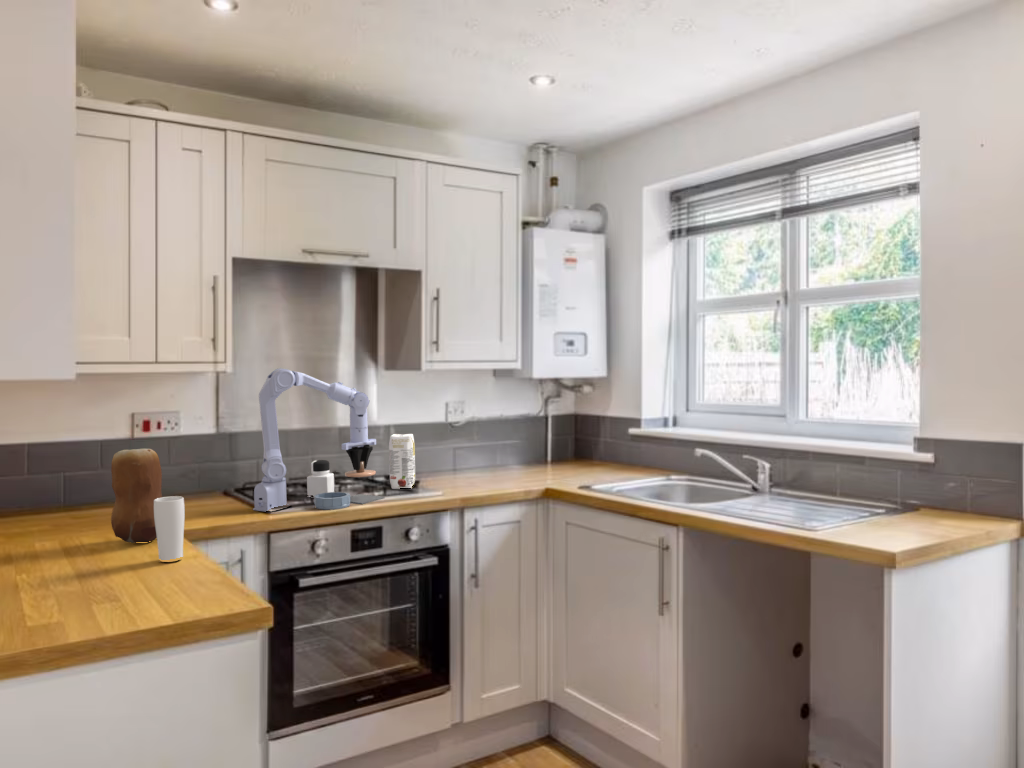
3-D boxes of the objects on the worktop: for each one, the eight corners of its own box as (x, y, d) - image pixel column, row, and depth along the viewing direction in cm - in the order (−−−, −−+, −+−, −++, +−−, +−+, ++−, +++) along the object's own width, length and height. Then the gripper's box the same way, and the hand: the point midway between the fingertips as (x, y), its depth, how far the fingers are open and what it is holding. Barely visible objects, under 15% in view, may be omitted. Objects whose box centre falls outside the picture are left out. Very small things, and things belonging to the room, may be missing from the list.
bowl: (332, 511, 240) (332, 499, 240) (307, 507, 245) (307, 496, 245) (357, 504, 249) (356, 493, 249) (332, 501, 255) (331, 490, 254)
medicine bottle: (334, 493, 268) (333, 459, 268) (327, 497, 261) (326, 462, 260) (314, 493, 269) (313, 459, 268) (307, 497, 262) (306, 462, 261)
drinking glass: (191, 560, 187) (189, 498, 186) (163, 566, 182) (160, 502, 181) (178, 555, 192) (176, 494, 191) (150, 561, 187) (148, 499, 186)
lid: (362, 477, 250) (361, 464, 250) (338, 476, 255) (337, 463, 254) (381, 473, 258) (381, 460, 258) (358, 471, 263) (358, 458, 263)
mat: (361, 504, 249) (361, 502, 249) (336, 501, 255) (336, 499, 255) (384, 498, 259) (384, 496, 259) (359, 495, 265) (359, 493, 265)
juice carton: (413, 489, 273) (412, 435, 272) (388, 489, 273) (387, 436, 272) (416, 485, 281) (415, 433, 280) (392, 485, 281) (391, 433, 280)
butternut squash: (142, 534, 213) (138, 444, 212) (180, 538, 208) (177, 445, 207) (99, 547, 200) (95, 450, 199) (138, 551, 196) (134, 452, 194)
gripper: (352, 430, 247) (353, 473, 248) (382, 426, 260) (383, 466, 261) (336, 429, 251) (337, 471, 252) (366, 425, 264) (367, 465, 264)
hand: (359, 469), depth 256 cm, fingers closed on lid, 3 cm apart
